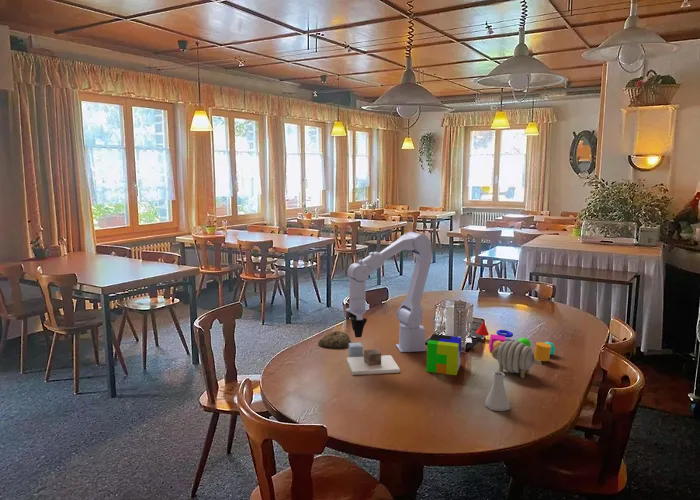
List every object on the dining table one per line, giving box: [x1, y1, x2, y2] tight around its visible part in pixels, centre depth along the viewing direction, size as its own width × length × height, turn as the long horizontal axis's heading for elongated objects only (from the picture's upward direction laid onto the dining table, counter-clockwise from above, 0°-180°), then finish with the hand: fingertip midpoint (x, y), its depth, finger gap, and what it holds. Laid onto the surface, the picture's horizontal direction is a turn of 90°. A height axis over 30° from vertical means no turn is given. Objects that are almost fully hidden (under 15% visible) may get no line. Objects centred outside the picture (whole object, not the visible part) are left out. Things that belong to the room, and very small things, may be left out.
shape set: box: [464, 321, 556, 362], centre depth 199 cm, size 29×35×7 cm
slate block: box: [347, 342, 364, 357], centre depth 192 cm, size 4×4×4 cm
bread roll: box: [318, 330, 352, 349], centre depth 205 cm, size 13×12×5 cm
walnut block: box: [363, 348, 382, 366], centre depth 182 cm, size 4×4×4 cm
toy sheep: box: [491, 340, 543, 379], centre depth 176 cm, size 11×17×11 cm, turn 55°
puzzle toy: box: [425, 333, 462, 376], centre depth 181 cm, size 10×10×10 cm
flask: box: [484, 371, 511, 412], centre depth 152 cm, size 7×7×10 cm
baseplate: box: [346, 354, 401, 376], centre depth 182 cm, size 16×13×1 cm
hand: (357, 333), depth 190 cm, fingers open, 7 cm apart
